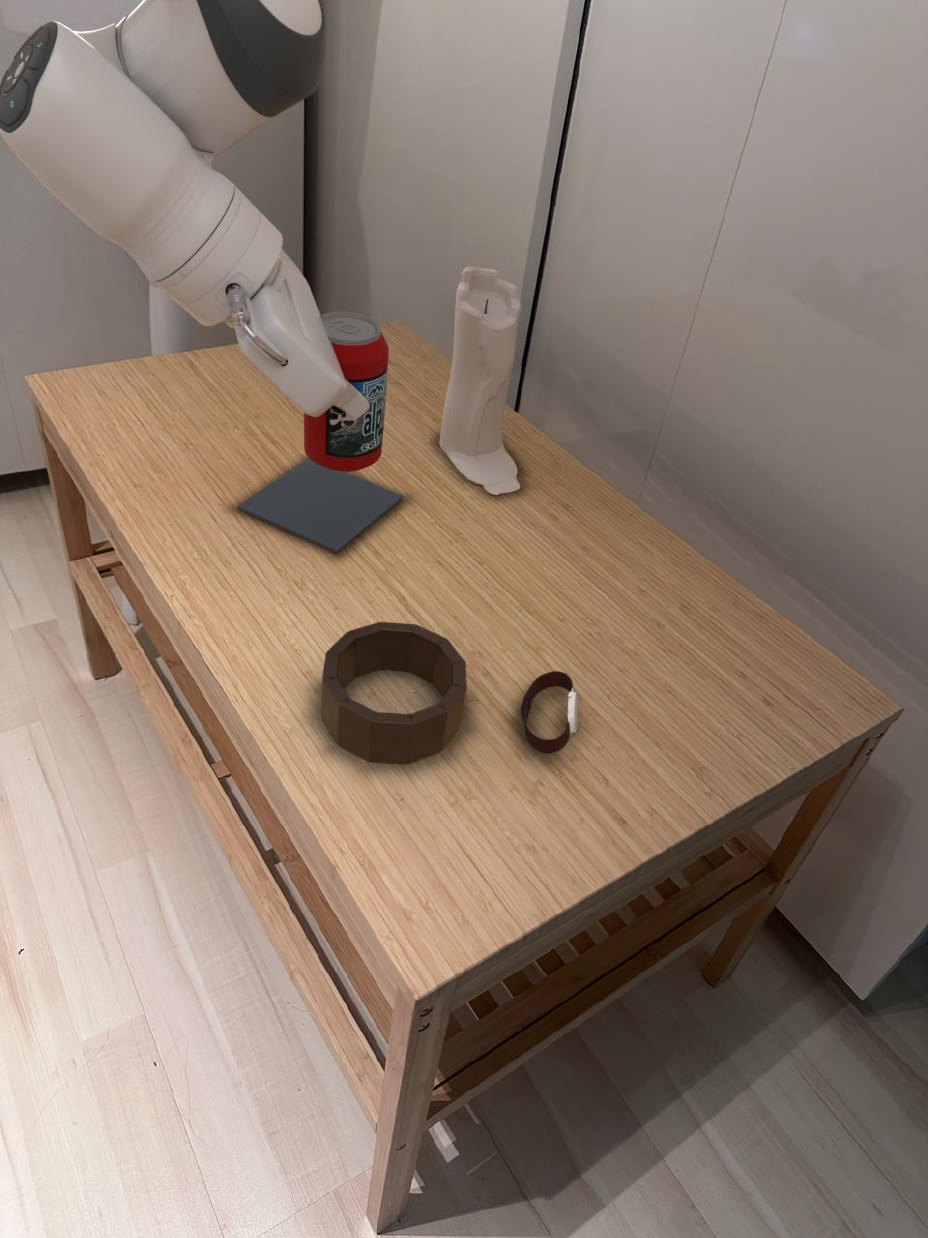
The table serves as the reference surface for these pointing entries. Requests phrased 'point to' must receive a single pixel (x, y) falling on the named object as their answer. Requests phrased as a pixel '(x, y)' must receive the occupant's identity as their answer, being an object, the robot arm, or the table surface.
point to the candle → (481, 379)
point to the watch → (566, 682)
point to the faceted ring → (393, 731)
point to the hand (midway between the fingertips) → (352, 384)
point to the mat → (321, 505)
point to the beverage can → (365, 365)
